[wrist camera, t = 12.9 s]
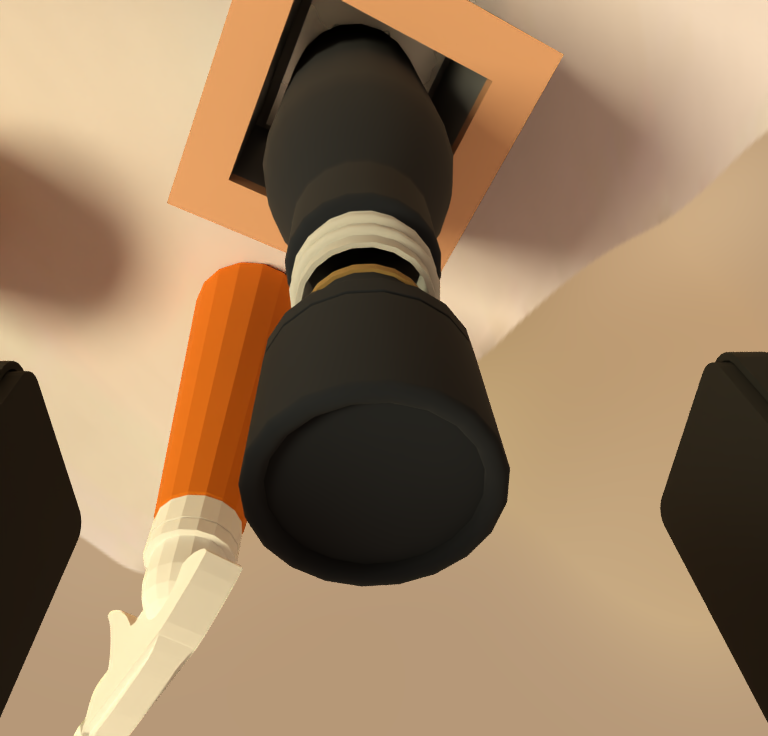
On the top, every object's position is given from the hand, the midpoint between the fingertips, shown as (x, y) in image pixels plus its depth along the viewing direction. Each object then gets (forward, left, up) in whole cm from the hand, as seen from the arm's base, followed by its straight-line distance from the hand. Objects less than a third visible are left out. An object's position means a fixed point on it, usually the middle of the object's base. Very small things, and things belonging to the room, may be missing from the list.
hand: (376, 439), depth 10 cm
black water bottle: (+1, 0, -30) cm, 30 cm away
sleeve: (0, 0, -31) cm, 31 cm away
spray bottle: (+18, 0, -32) cm, 36 cm away
